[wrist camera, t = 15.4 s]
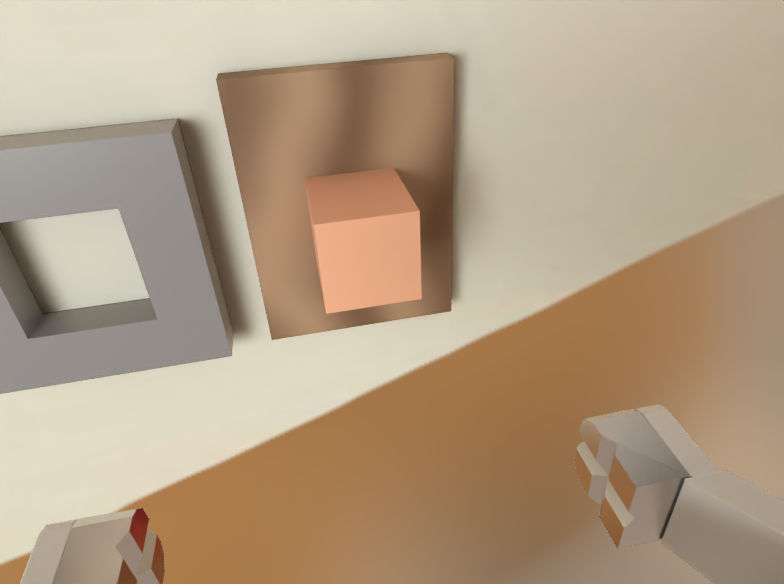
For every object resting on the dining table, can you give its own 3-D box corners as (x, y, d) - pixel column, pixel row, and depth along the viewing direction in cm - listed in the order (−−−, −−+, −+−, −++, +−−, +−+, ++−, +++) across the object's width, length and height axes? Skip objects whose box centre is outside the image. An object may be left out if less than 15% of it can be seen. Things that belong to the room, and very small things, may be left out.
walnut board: (446, 52, 29) (454, 57, 28) (444, 299, 38) (450, 311, 37) (218, 73, 28) (216, 79, 26) (271, 326, 36) (272, 339, 35)
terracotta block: (393, 167, 31) (419, 210, 26) (397, 246, 33) (421, 298, 28) (304, 178, 30) (313, 224, 25) (316, 257, 33) (326, 313, 28)
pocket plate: (177, 118, 28) (171, 132, 26) (233, 332, 36) (231, 356, 34) (-122, 148, 26) (-154, 166, 24) (4, 368, 34) (-12, 395, 32)
